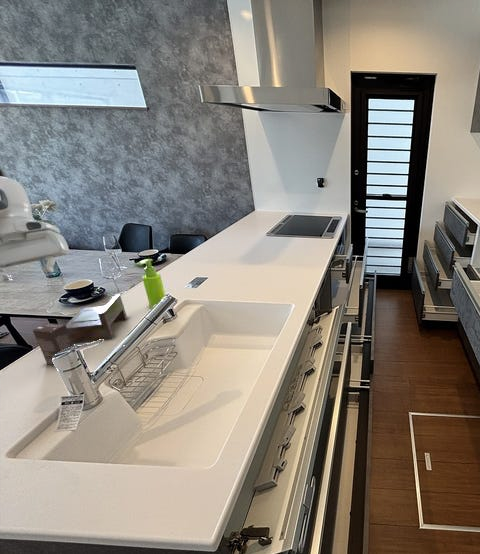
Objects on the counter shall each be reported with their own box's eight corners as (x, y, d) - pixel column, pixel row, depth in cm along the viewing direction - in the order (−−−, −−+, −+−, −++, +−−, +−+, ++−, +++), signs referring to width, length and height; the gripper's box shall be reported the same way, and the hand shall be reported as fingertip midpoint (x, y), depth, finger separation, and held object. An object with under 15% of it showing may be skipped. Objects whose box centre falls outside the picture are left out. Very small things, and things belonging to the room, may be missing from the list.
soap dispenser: (144, 308, 122) (131, 262, 114) (159, 300, 128) (147, 256, 120) (156, 310, 121) (144, 264, 113) (170, 303, 127) (160, 258, 119)
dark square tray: (67, 344, 99) (56, 318, 95) (88, 322, 111) (79, 298, 107) (112, 338, 103) (103, 313, 99) (127, 318, 115) (120, 294, 111)
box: (79, 357, 94) (66, 324, 89) (65, 366, 90) (50, 332, 85) (61, 355, 94) (47, 322, 89) (46, 364, 90) (30, 330, 85)
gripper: (-43, 237, 82) (-29, 286, 82) (51, 221, 89) (64, 265, 88) (-21, 243, 88) (-9, 288, 88) (65, 227, 95) (77, 269, 94)
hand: (29, 277), depth 88 cm, fingers open, 8 cm apart
